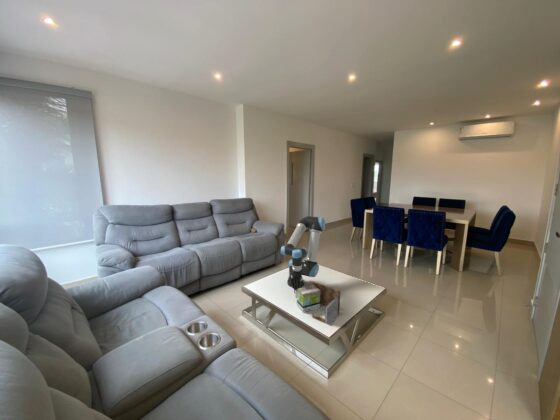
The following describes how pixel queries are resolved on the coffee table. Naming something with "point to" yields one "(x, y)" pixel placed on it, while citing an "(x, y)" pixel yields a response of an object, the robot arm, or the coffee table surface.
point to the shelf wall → (325, 297)
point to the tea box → (308, 298)
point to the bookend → (332, 311)
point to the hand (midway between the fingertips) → (296, 297)
